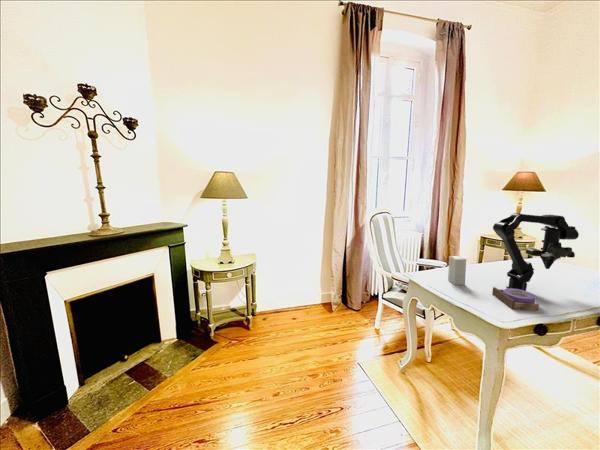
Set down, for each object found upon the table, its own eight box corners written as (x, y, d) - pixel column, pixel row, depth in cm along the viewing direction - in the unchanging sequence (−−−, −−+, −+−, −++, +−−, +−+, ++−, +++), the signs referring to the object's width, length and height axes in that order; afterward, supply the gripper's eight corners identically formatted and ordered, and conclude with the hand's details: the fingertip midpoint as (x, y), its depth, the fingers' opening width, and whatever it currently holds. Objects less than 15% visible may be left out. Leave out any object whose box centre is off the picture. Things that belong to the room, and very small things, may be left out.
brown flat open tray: (511, 309, 118) (512, 300, 117) (492, 294, 133) (493, 287, 132) (538, 311, 116) (539, 302, 115) (515, 296, 131) (516, 288, 131)
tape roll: (522, 310, 117) (523, 299, 116) (496, 299, 128) (497, 289, 127) (540, 307, 120) (542, 296, 119) (513, 296, 131) (515, 287, 130)
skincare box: (465, 285, 145) (467, 259, 143) (453, 285, 146) (456, 259, 144) (457, 279, 154) (459, 255, 151) (446, 279, 154) (449, 255, 152)
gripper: (542, 242, 127) (537, 272, 130) (587, 243, 124) (581, 275, 126) (526, 237, 138) (523, 266, 140) (567, 238, 135) (563, 267, 137)
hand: (547, 268), depth 136 cm, fingers closed
